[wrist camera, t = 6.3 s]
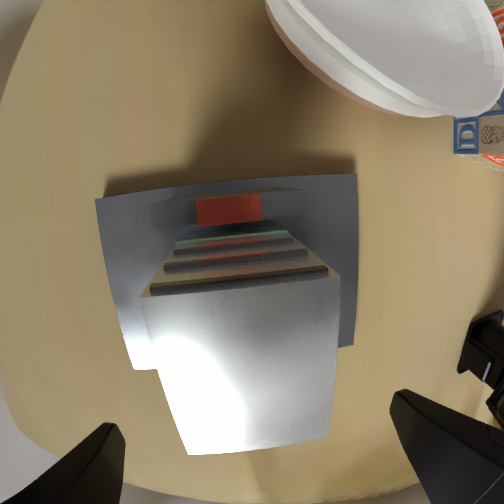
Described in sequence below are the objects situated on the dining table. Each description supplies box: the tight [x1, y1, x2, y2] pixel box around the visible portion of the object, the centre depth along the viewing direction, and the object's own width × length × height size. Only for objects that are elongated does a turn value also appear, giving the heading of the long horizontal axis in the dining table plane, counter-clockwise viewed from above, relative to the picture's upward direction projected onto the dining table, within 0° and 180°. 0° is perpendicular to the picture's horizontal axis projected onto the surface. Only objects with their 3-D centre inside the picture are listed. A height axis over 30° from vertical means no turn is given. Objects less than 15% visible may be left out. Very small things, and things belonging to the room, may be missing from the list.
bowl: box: [264, 0, 504, 118], centre depth 12 cm, size 16×16×8 cm
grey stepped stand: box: [95, 174, 358, 369], centre depth 15 cm, size 16×12×7 cm
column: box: [139, 220, 341, 454], centre depth 10 cm, size 4×5×8 cm
